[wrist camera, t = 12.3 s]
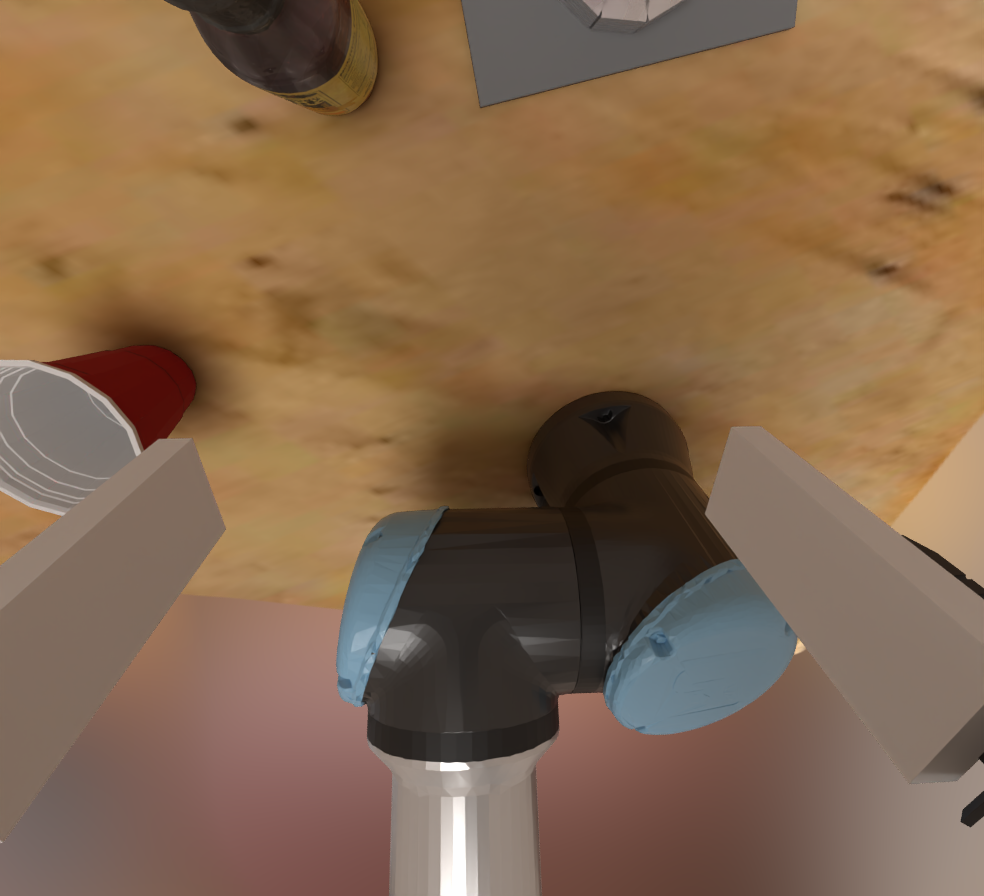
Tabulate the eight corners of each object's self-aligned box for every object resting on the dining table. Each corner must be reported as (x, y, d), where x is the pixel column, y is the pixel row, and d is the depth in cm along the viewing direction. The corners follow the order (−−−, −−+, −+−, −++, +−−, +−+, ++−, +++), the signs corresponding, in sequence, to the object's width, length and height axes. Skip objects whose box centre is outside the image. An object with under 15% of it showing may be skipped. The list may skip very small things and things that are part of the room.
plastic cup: (186, 296, 34) (67, 346, 24) (250, 419, 40) (176, 502, 30) (53, 323, 35) (-118, 383, 25) (135, 441, 40) (23, 530, 30)
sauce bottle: (260, 63, 28) (-67, -127, 11) (311, -45, 25) (1, -504, 8) (352, 146, 30) (207, 102, 13) (406, 55, 28) (317, -143, 11)
